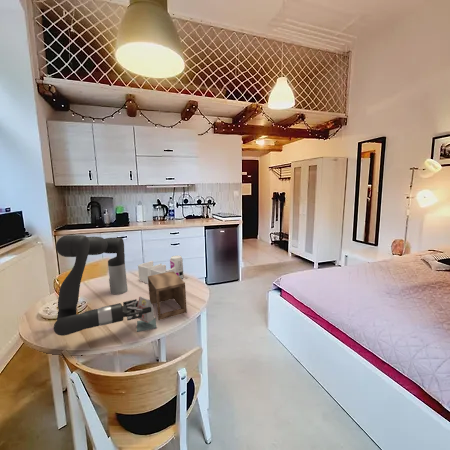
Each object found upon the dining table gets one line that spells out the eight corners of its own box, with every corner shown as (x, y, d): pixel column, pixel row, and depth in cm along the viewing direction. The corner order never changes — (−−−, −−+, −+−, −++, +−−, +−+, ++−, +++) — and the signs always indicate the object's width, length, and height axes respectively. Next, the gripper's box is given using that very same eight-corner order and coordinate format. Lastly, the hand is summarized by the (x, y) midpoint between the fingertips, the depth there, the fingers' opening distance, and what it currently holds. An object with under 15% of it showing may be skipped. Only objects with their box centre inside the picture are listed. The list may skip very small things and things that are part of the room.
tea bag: (144, 315, 120) (142, 294, 118) (154, 319, 116) (152, 298, 114) (137, 318, 117) (136, 298, 115) (147, 322, 113) (146, 301, 111)
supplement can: (173, 281, 168) (171, 259, 165) (169, 277, 175) (168, 256, 172) (185, 279, 171) (183, 257, 169) (181, 275, 179) (180, 254, 176)
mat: (136, 332, 112) (136, 330, 112) (137, 322, 120) (137, 321, 120) (156, 328, 114) (156, 327, 114) (155, 318, 122) (155, 317, 122)
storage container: (139, 280, 171) (138, 265, 169) (153, 275, 180) (152, 260, 178) (162, 289, 156) (161, 272, 154) (176, 284, 164) (175, 267, 162)
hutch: (158, 320, 121) (156, 289, 118) (150, 303, 138) (147, 276, 135) (186, 312, 127) (185, 282, 125) (175, 297, 144) (173, 271, 142)
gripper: (110, 313, 102) (152, 303, 109) (108, 299, 114) (145, 291, 122) (112, 330, 103) (153, 320, 111) (109, 315, 116) (146, 306, 123)
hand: (149, 305), depth 116 cm, fingers closed on tea bag, 8 cm apart
